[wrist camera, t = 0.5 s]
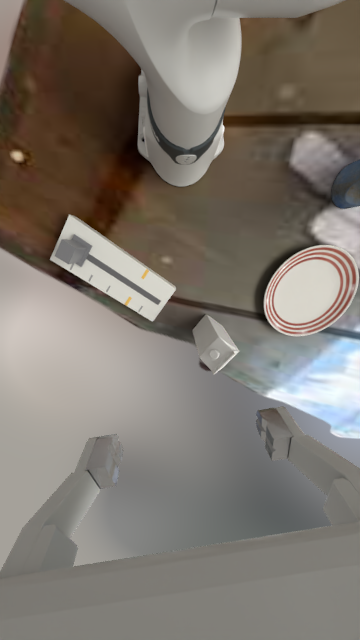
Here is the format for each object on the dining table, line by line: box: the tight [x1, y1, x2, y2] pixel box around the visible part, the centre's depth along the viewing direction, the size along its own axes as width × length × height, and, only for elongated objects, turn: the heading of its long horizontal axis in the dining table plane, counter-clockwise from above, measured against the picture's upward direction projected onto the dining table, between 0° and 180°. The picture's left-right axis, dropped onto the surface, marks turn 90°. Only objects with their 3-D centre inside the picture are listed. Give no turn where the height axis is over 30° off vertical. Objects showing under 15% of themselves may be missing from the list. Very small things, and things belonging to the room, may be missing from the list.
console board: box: [50, 215, 176, 322], centre depth 47 cm, size 30×12×3 cm, turn 54°
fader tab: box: [55, 234, 92, 267], centre depth 40 cm, size 4×6×6 cm
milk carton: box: [192, 314, 239, 374], centre depth 48 cm, size 7×7×19 cm
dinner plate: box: [264, 245, 359, 336], centre depth 53 cm, size 28×27×3 cm
